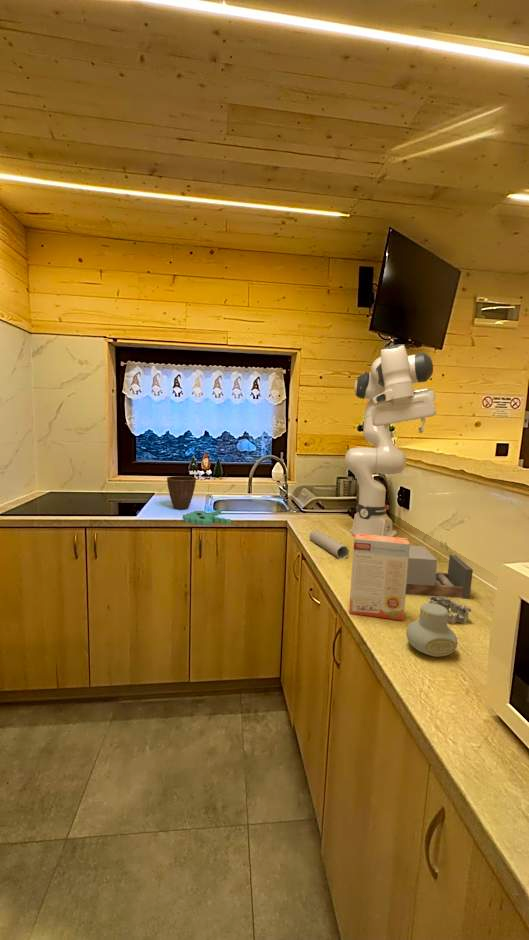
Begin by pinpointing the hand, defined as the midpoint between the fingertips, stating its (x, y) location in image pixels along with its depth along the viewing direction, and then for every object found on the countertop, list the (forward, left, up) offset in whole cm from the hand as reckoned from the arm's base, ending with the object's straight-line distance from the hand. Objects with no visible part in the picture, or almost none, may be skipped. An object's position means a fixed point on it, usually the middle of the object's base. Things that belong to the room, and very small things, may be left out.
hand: (406, 435), depth 142 cm
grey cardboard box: (+9, +10, -43) cm, 46 cm away
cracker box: (+34, +12, -47) cm, 59 cm away
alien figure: (+9, -92, -47) cm, 104 cm away
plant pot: (+5, -117, -47) cm, 126 cm away
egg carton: (+20, +26, -47) cm, 57 cm away
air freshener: (+41, +30, -47) cm, 69 cm away
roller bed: (+6, +14, -47) cm, 49 cm away
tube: (-1, -29, -47) cm, 55 cm away
